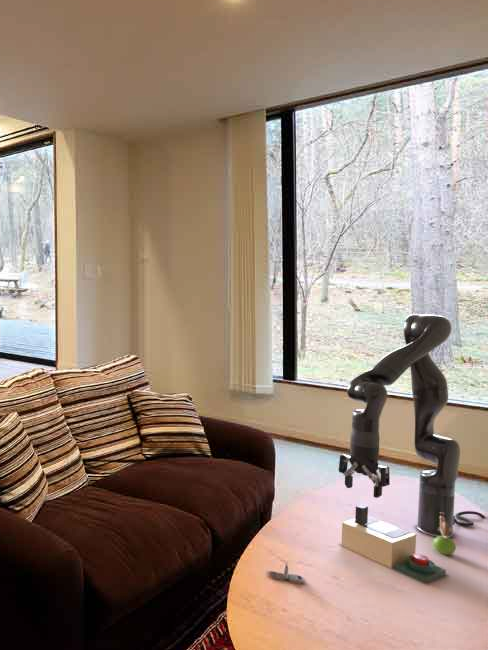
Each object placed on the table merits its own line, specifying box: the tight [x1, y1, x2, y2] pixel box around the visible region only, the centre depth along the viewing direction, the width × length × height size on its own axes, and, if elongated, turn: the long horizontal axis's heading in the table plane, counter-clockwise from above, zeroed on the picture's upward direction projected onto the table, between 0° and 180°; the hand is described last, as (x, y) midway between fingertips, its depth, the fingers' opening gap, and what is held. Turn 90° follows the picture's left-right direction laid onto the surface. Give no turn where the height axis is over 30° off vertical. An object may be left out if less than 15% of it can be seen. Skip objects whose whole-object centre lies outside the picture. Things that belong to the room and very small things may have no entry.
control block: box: [394, 555, 447, 584], centre depth 159 cm, size 10×8×4 cm
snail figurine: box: [432, 512, 457, 556], centre depth 170 cm, size 5×6×12 cm
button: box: [413, 553, 430, 565], centre depth 159 cm, size 4×4×2 cm
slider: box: [354, 504, 369, 525], centre depth 173 cm, size 3×2×6 cm, turn 113°
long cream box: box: [341, 515, 417, 569], centre depth 171 cm, size 12×15×8 cm
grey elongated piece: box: [269, 562, 304, 584], centre depth 157 cm, size 8×3×4 cm, turn 65°
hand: (362, 492), depth 172 cm, fingers open, 8 cm apart
